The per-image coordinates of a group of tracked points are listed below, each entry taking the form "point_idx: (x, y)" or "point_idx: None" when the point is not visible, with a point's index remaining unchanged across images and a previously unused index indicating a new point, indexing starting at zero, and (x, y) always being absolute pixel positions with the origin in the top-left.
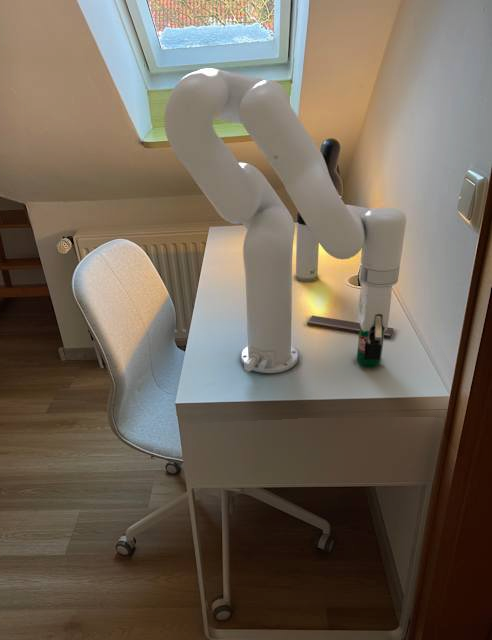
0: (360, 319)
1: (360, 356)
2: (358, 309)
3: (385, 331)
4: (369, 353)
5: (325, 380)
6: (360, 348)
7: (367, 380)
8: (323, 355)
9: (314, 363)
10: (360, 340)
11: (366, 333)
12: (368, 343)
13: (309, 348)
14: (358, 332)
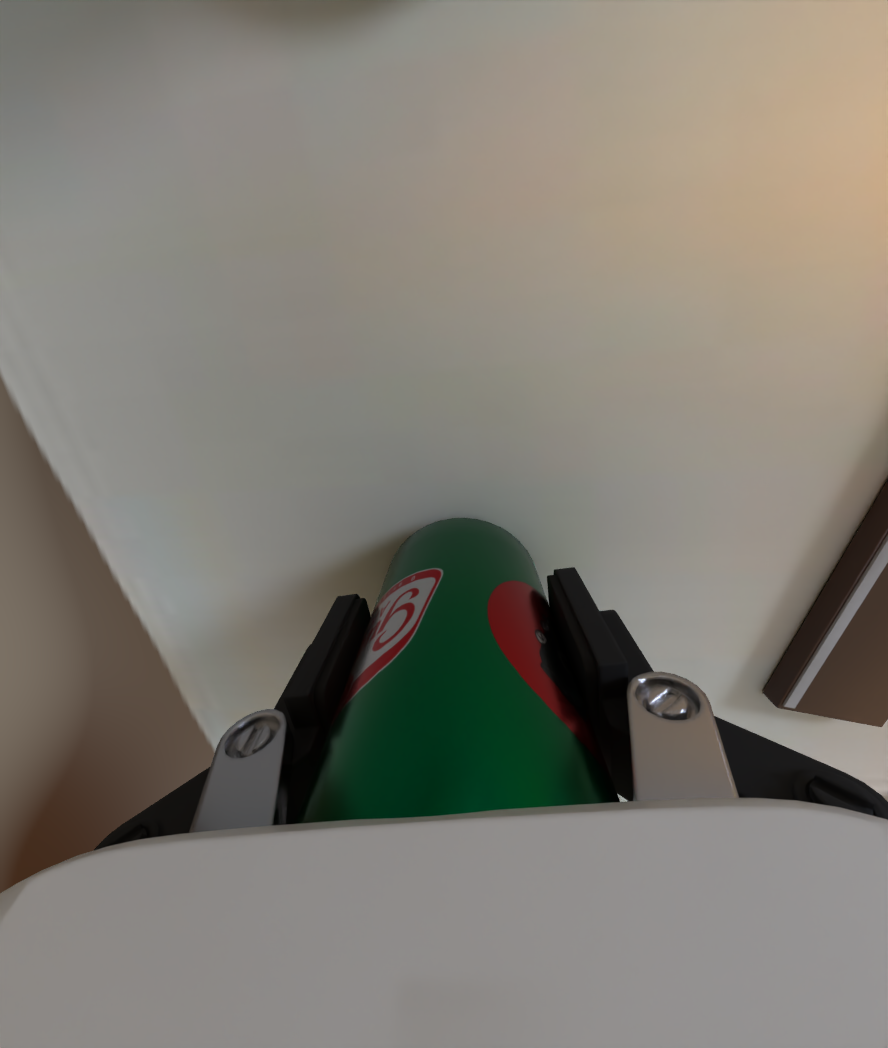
0: (248, 988)
1: (399, 563)
2: (854, 1044)
3: (845, 685)
4: (300, 664)
5: (177, 314)
6: (395, 592)
7: (271, 575)
8: (526, 255)
9: (386, 185)
10: (393, 632)
11: (313, 778)
12: (229, 737)
13: (644, 85)
14: (878, 515)
